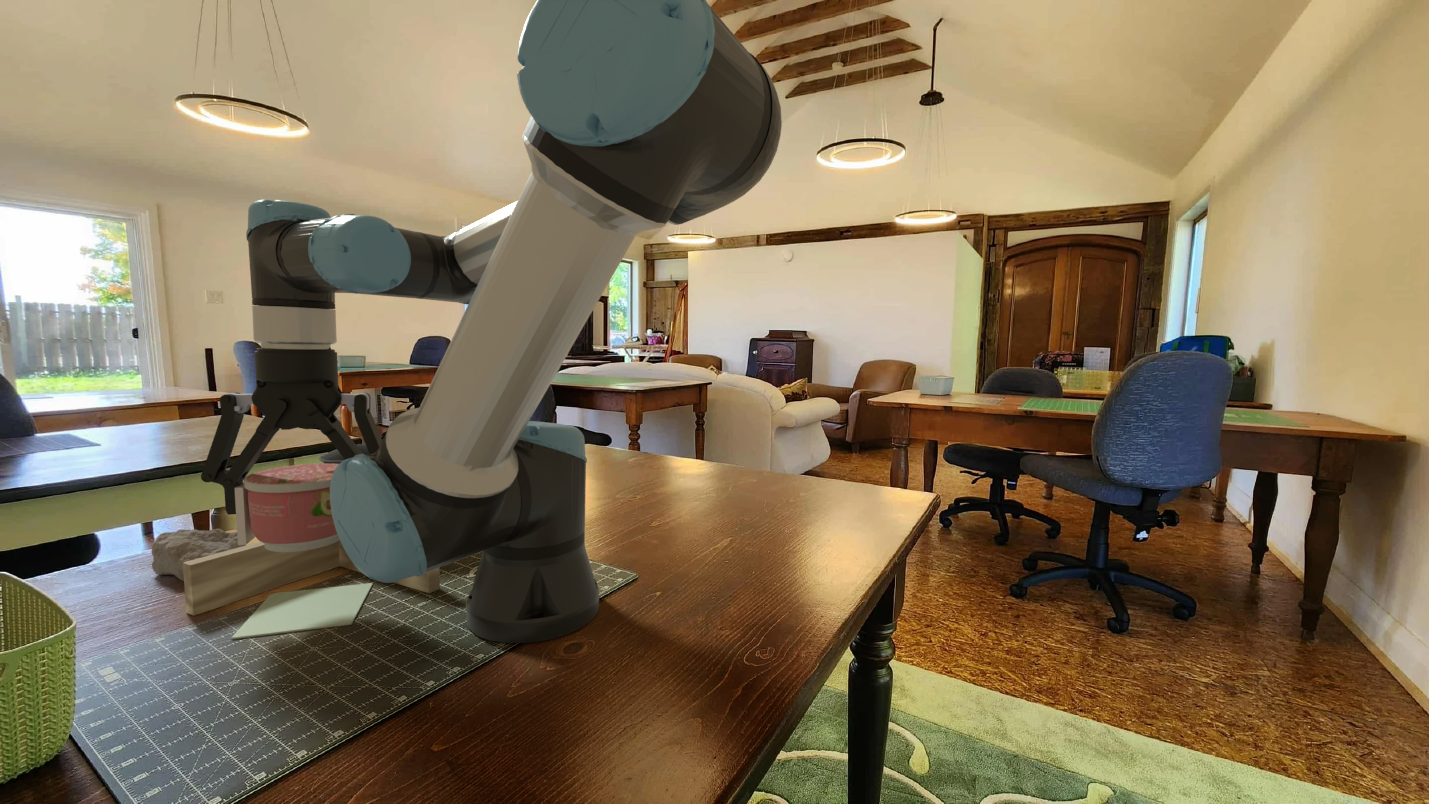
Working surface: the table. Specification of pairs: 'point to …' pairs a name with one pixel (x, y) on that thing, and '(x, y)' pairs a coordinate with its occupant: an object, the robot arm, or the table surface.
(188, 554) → the stone
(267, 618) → the plate
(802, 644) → the table surface
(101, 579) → the table surface
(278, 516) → the container
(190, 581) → the corner walls
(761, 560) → the table surface
